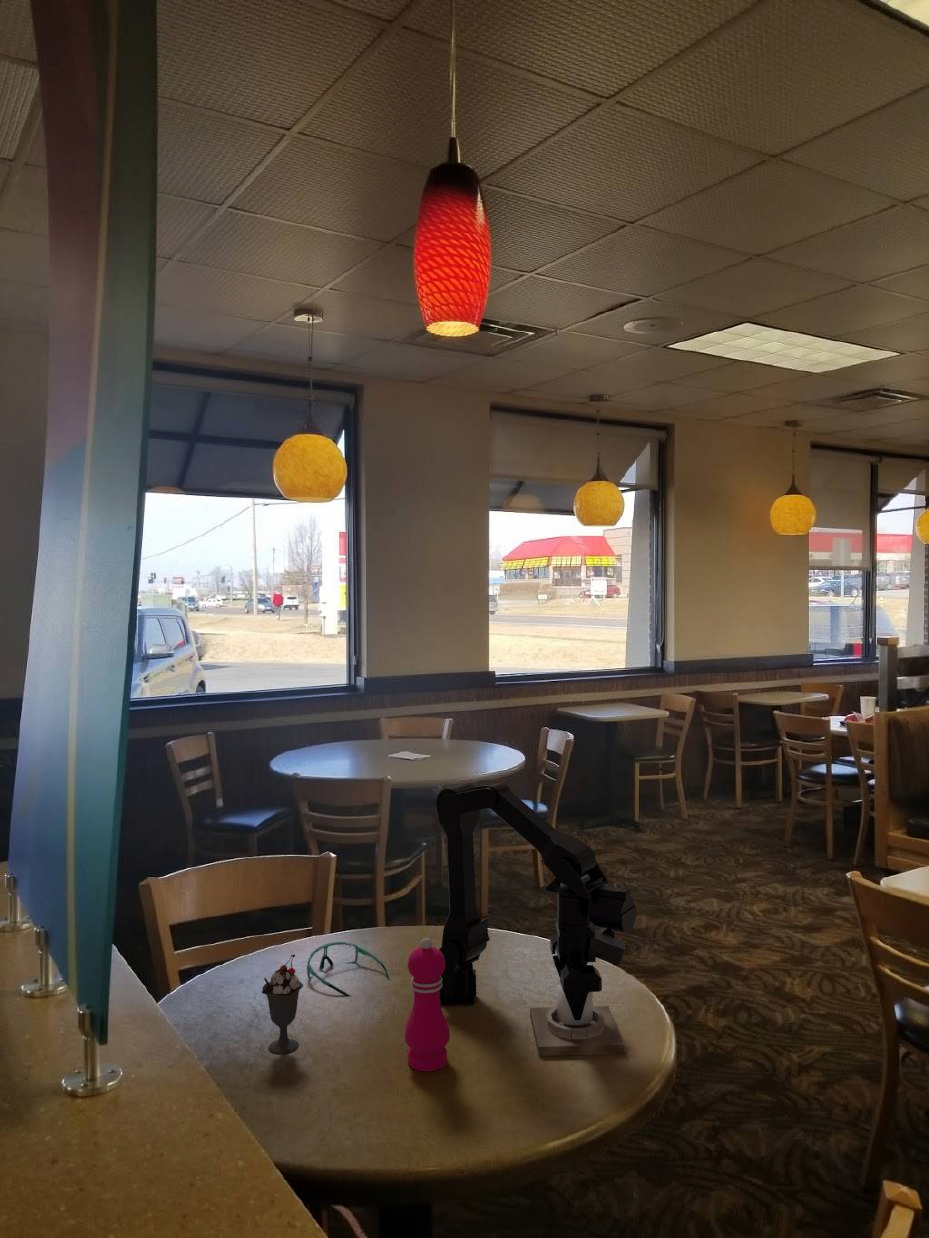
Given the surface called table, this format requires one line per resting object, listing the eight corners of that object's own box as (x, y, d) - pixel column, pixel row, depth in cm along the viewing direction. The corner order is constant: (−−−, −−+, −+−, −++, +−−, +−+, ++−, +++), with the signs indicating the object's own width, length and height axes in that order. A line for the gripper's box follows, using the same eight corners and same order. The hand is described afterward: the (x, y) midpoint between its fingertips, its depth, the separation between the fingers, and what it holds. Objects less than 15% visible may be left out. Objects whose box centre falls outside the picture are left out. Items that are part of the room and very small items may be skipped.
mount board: (538, 1055, 146) (538, 1037, 146) (530, 1016, 160) (529, 999, 160) (624, 1053, 146) (624, 1035, 146) (608, 1014, 160) (608, 997, 160)
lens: (559, 1025, 150) (559, 995, 150) (555, 1009, 156) (555, 980, 156) (595, 1025, 150) (595, 994, 150) (589, 1008, 156) (589, 979, 156)
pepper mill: (416, 1077, 140) (414, 949, 139) (397, 1057, 146) (396, 934, 146) (457, 1066, 143) (456, 941, 143) (438, 1046, 149) (436, 926, 149)
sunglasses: (350, 957, 188) (351, 934, 187) (397, 985, 177) (399, 961, 177) (294, 978, 178) (295, 953, 177) (341, 1009, 167) (342, 983, 167)
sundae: (311, 1040, 152) (310, 952, 152) (291, 1059, 146) (289, 967, 145) (277, 1034, 154) (275, 947, 154) (255, 1053, 148) (254, 962, 147)
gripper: (633, 939, 144) (633, 1036, 144) (611, 900, 162) (611, 986, 163) (563, 941, 143) (564, 1038, 144) (549, 901, 162) (549, 987, 162)
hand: (574, 1010), depth 153 cm, fingers closed on lens, 6 cm apart
